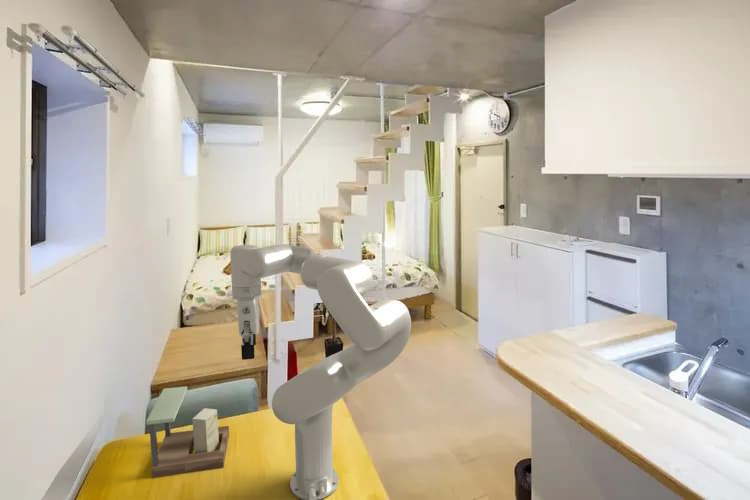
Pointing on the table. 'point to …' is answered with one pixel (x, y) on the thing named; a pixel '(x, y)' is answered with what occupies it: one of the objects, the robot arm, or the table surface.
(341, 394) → the robot arm
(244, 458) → the table surface
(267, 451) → the table surface
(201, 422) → the skincare box
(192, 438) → the socket board
